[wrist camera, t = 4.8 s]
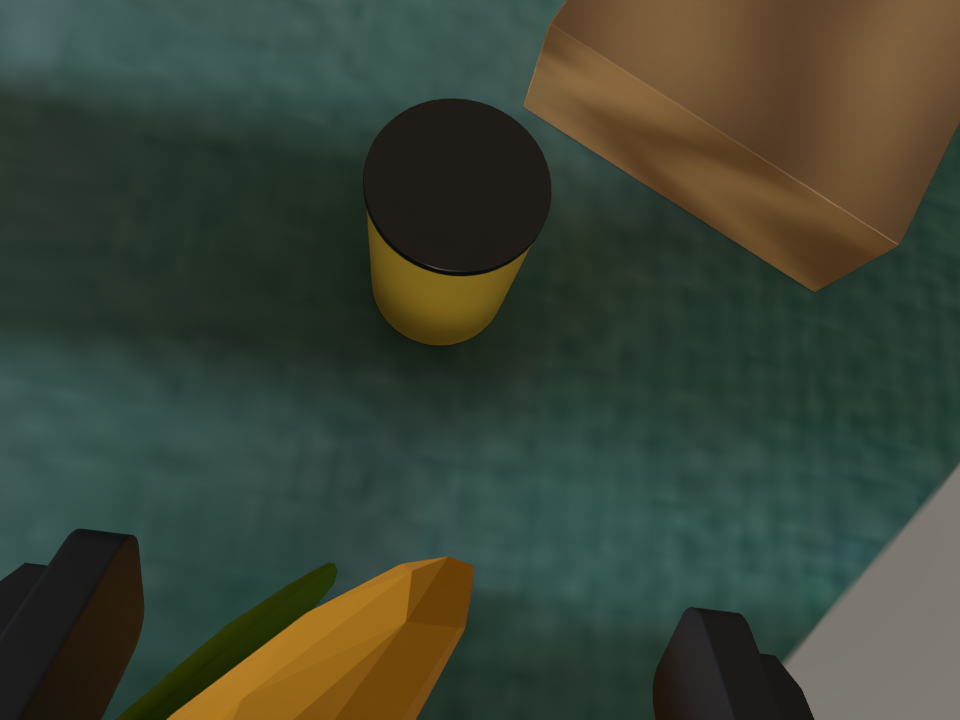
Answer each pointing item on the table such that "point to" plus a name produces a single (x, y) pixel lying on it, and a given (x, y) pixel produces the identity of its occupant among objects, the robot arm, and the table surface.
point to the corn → (325, 651)
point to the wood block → (765, 114)
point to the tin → (451, 216)
